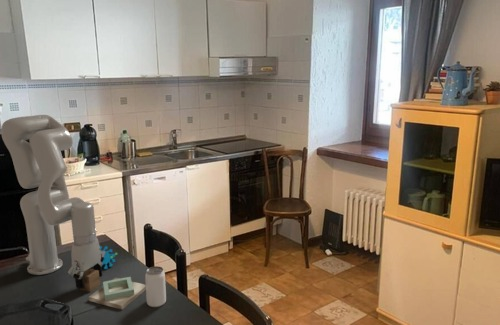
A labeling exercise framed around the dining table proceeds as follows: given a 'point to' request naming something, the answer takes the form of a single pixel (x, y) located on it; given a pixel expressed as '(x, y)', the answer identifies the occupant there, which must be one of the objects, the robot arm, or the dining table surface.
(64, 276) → the dining table surface
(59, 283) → the dining table surface
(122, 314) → the dining table surface
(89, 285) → the block
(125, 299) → the board
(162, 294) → the can
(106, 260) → the gear
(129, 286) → the pocket
